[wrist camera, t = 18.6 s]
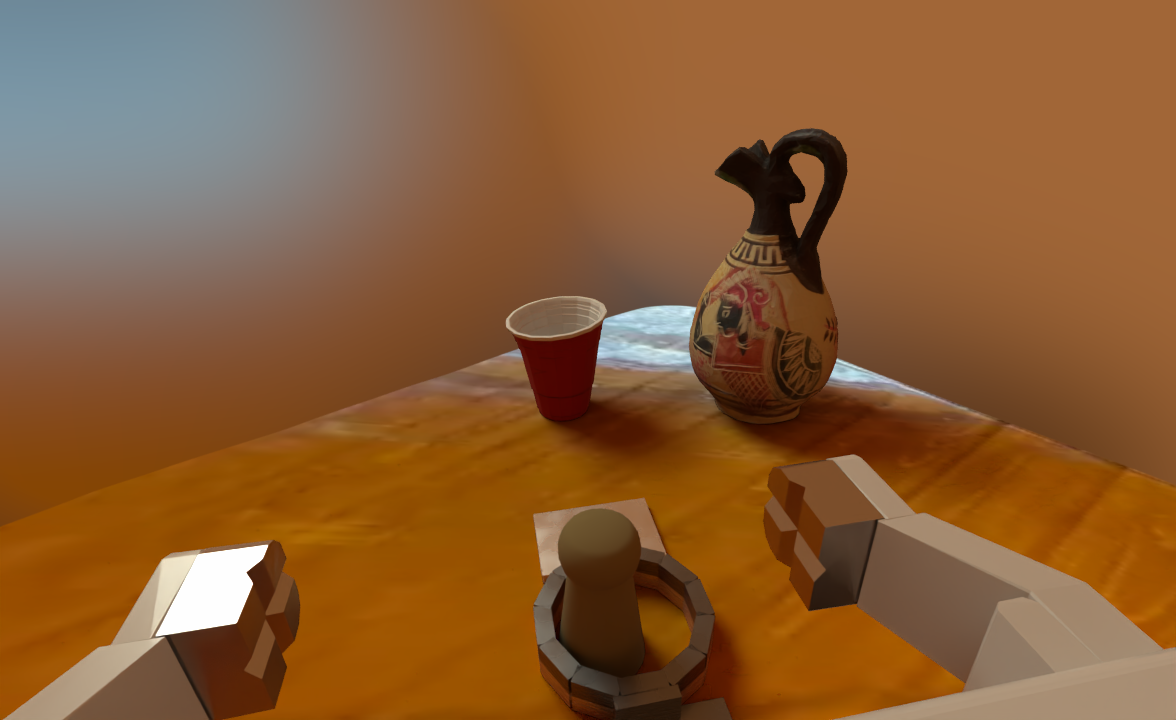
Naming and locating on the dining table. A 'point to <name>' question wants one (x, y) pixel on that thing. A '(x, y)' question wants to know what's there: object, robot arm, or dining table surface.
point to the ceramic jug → (771, 289)
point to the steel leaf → (639, 515)
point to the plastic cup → (559, 351)
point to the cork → (601, 592)
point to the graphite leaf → (644, 700)
